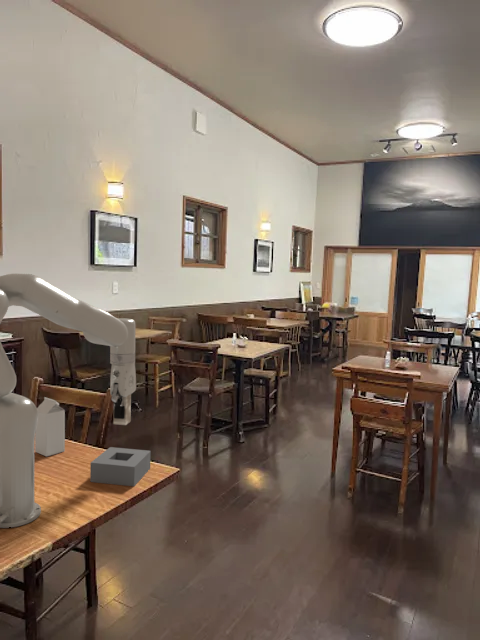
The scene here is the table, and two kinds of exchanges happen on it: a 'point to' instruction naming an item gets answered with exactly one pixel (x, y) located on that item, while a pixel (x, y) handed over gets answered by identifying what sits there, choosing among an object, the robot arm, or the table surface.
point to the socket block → (120, 466)
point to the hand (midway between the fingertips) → (122, 415)
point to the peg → (127, 412)
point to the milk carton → (50, 428)
